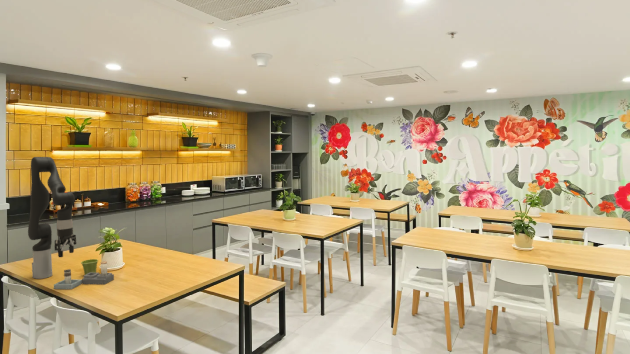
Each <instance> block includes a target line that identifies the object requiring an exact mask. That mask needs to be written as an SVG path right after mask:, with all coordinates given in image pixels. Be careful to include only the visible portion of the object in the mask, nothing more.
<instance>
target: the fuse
mask: <svg viewBox="0 0 630 354" xmlns="http://www.w3.org/2000/svg"><path fill="white" fill-rule="evenodd" d="M107 273H108V261H106V260H105V261H101V262H100V274H101V276H106V275H107Z"/></svg>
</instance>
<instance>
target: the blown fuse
mask: <svg viewBox="0 0 630 354" xmlns="http://www.w3.org/2000/svg"><path fill="white" fill-rule="evenodd" d="M63 273H64V275H63V276H64V279H65V284H72V283H71V279H72V270H71V269H70V268H69V269H68V268H67V269H64V270H63Z"/></svg>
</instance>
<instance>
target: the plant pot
mask: <svg viewBox="0 0 630 354" xmlns="http://www.w3.org/2000/svg"><path fill="white" fill-rule="evenodd" d="M98 262H99V259H98V258H93V259H92V258H90V259H85V260H82V261H81V263H80V264H81V266H82V268H83V274H84V275H86V274H88V273H97V268H98Z"/></svg>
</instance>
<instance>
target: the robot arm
mask: <svg viewBox="0 0 630 354" xmlns="http://www.w3.org/2000/svg"><path fill="white" fill-rule="evenodd" d="M40 173H50V174H49V177H48V179H47V186H48V188H49V190H50V191H49V190H48V188H47V187H46V186H45V184H44V182H43V181H42V180H41V177H40ZM30 175H31V176H30V177H31V178H30V179H31V185H30V187H31V188H30V207H29V208H30V210H29V211H30V213H29V221H28V226H27V227H28V229H27V235H28V238H29V240H31V241H37V240H39V241H38V242H37V243H36V244H33V246H32V249H31V250H32V260H33V261H32V262H31V271H32V275H31V276H32V279H37V280H38V279H40V280H41V279H46V278H50V277H52V276H53V262H52V260H53V259H52V243H53V242H52V240H53V239H52V235H53V234H52V227H51V225H50V224H49V223H47V222H44V223H40V219H41V218H42V215H43V214H44V213H45V211H46V209H48V206H49V204H50V192H51V196H52V199H51V200H52V203H53V204H54V205H55V206H64V207H63V208H60V209H57V211H56V230H57V233H56V234H57V237H58V239H55V240H54V251H56V252H57V256H58V258H63V257H64V248H65V247H66V246H68V252H69V254H73V253H74V251H75V250H74V249H75V245H77V235H76V234H74V230H73V229H74V226H73V225H74V223H73V207H74V204H75V200H76V199H75V197H76V196H75V194H74V193H73V192H71V191H66V187H65V185H64V182H63V181H62V180H61V178H60V177H61V176H60V174H59V171H58V167H57V165H56V163H55V160H54V159H53V158H52V157H50V156H34V157H32V158H31V160H30Z"/></svg>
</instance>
